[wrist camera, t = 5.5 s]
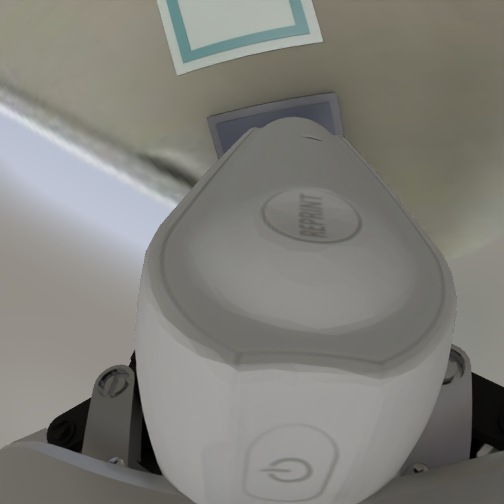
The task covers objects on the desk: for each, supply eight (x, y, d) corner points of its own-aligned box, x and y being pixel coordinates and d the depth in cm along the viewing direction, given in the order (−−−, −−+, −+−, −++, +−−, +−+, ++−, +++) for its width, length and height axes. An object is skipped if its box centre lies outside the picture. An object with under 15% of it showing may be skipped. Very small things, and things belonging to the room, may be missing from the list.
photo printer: (243, 110, 11) (-59, 373, 1) (350, 119, 11) (608, 415, 1) (239, 309, 17) (184, 543, 6) (317, 317, 16) (315, 556, 6)
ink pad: (334, 91, 25) (336, 92, 23) (352, 208, 31) (354, 215, 29) (210, 116, 28) (205, 118, 26) (240, 224, 34) (237, 232, 32)
